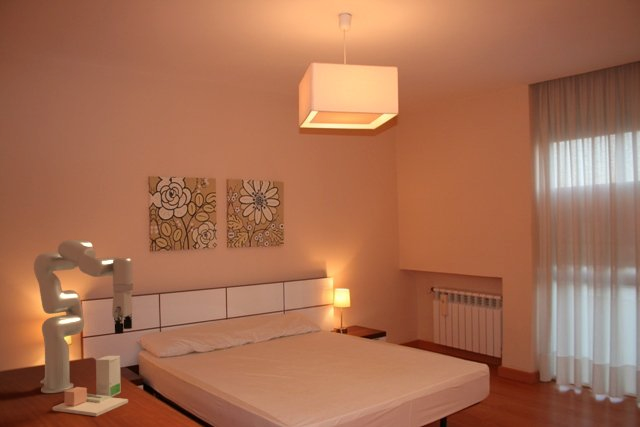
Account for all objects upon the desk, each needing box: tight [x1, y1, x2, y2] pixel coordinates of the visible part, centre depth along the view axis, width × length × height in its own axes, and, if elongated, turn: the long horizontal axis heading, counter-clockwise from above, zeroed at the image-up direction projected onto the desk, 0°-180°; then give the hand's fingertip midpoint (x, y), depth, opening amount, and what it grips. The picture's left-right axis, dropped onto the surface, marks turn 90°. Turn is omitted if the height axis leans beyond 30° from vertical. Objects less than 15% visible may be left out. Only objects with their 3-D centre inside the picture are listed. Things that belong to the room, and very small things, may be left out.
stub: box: [63, 386, 88, 406], centre depth 198 cm, size 5×6×5 cm
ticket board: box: [52, 393, 129, 417], centre depth 198 cm, size 22×16×2 cm
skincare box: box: [95, 355, 122, 398], centre depth 211 cm, size 8×7×16 cm
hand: (123, 331), depth 204 cm, fingers open, 9 cm apart
